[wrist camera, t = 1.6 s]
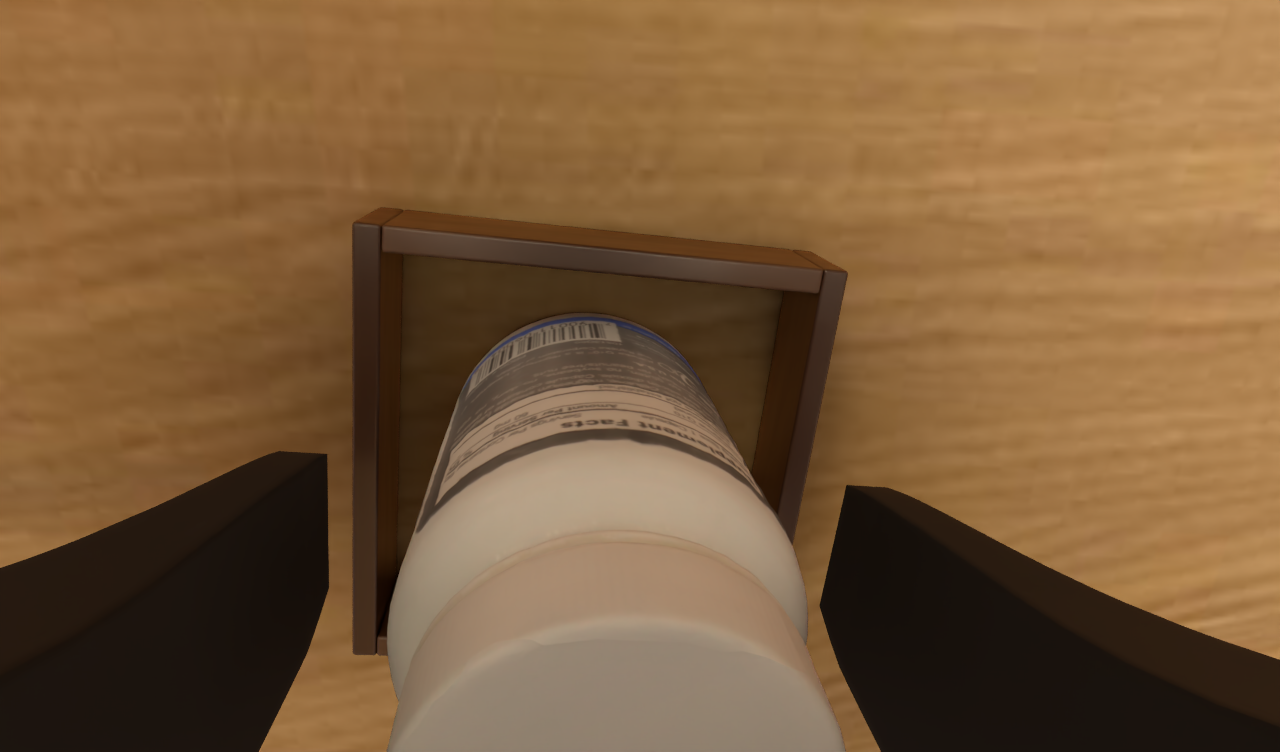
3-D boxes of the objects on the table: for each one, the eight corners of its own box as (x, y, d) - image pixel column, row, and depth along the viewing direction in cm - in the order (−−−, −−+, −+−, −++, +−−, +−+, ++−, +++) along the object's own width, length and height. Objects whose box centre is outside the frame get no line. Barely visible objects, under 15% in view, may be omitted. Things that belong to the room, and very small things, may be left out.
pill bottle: (653, 570, 15) (758, 1056, 7) (420, 503, 14) (258, 984, 6) (750, 356, 14) (999, 671, 6) (501, 267, 13) (422, 507, 5)
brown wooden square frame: (812, 251, 14) (849, 271, 12) (746, 607, 16) (768, 667, 14) (379, 206, 13) (351, 221, 11) (375, 593, 15) (351, 656, 13)
